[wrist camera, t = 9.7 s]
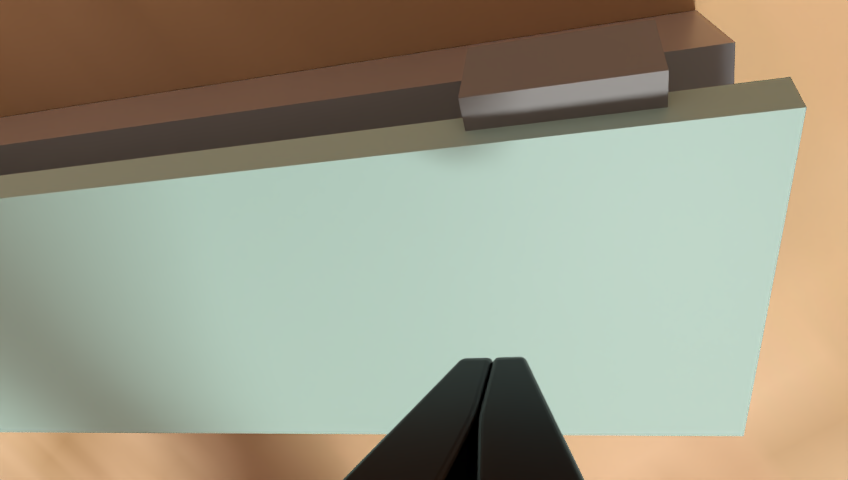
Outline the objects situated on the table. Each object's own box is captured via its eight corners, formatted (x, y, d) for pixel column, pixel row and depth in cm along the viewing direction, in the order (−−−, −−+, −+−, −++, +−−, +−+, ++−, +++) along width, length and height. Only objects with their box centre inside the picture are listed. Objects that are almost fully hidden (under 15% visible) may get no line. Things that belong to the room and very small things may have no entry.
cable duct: (696, 301, 18) (725, 394, 15) (64, 329, 24) (-21, 402, 20) (696, 10, 15) (734, 42, 11) (-41, 123, 20) (-165, 168, 17)
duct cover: (725, 361, 16) (743, 436, 14) (-3, 377, 21) (-42, 431, 20) (774, 0, 10) (814, 67, 8) (-255, 158, 15) (-338, 213, 14)
